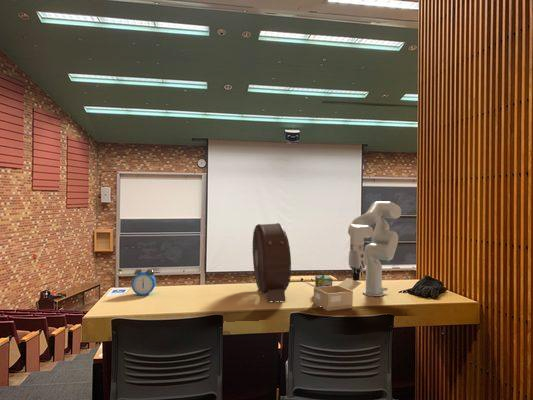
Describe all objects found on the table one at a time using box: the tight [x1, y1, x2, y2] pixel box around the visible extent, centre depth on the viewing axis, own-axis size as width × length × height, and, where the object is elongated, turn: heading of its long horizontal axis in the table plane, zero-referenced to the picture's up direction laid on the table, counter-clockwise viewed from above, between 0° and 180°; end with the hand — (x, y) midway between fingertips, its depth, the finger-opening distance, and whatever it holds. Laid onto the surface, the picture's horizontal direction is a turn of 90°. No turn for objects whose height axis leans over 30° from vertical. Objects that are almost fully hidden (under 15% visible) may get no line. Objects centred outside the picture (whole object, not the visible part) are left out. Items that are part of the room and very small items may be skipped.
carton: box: [313, 284, 354, 312], centre depth 192 cm, size 16×15×9 cm
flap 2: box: [338, 277, 362, 291], centre depth 197 cm, size 7×13×1 cm
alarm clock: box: [130, 268, 157, 296], centre depth 208 cm, size 13×6×15 cm, turn 98°
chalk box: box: [314, 270, 333, 287], centre depth 212 cm, size 9×9×15 cm
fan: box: [252, 222, 292, 303], centre depth 213 cm, size 41×18×44 cm, turn 11°
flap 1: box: [305, 281, 327, 293], centre depth 188 cm, size 7×13×1 cm, turn 23°
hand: (356, 279), depth 198 cm, fingers closed
